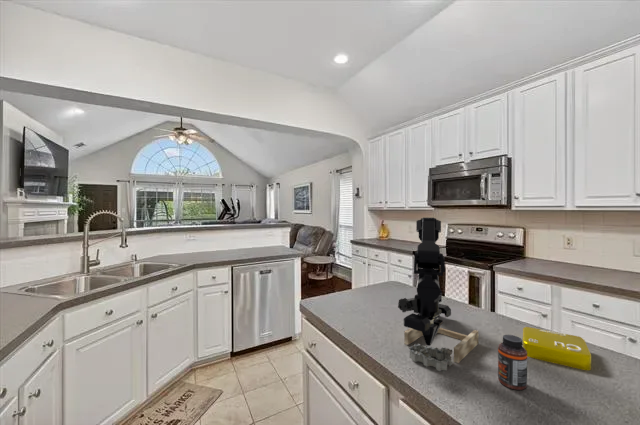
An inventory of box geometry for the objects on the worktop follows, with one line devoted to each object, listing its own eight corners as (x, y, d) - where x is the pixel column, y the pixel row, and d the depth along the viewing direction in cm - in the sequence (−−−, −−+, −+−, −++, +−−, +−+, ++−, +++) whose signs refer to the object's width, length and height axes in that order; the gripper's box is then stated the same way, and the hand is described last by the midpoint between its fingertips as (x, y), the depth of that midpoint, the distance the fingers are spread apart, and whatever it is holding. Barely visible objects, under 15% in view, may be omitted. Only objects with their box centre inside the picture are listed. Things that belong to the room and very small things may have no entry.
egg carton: (454, 364, 81) (454, 349, 81) (443, 375, 75) (443, 359, 75) (418, 351, 88) (418, 337, 88) (405, 359, 83) (406, 345, 83)
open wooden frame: (428, 328, 104) (428, 317, 104) (478, 343, 92) (478, 330, 92) (404, 344, 92) (404, 331, 92) (458, 363, 81) (458, 348, 81)
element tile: (583, 350, 88) (583, 335, 88) (592, 373, 76) (592, 355, 76) (523, 338, 97) (523, 324, 97) (522, 357, 85) (522, 340, 85)
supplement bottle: (492, 377, 74) (492, 332, 74) (514, 376, 74) (514, 332, 74) (509, 392, 68) (509, 343, 68) (533, 390, 68) (533, 342, 68)
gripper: (417, 281, 98) (417, 328, 98) (387, 292, 85) (387, 346, 85) (451, 287, 90) (451, 338, 90) (423, 300, 77) (423, 360, 77)
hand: (428, 345), depth 85 cm, fingers closed, pressing on egg carton
